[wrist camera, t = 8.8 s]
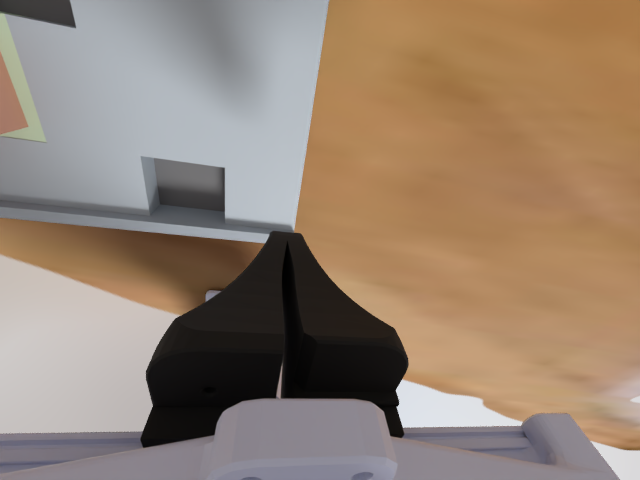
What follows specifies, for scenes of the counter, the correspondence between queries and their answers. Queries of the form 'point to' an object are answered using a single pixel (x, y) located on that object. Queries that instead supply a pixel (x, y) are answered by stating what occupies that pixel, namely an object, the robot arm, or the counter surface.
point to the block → (9, 103)
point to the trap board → (160, 113)
